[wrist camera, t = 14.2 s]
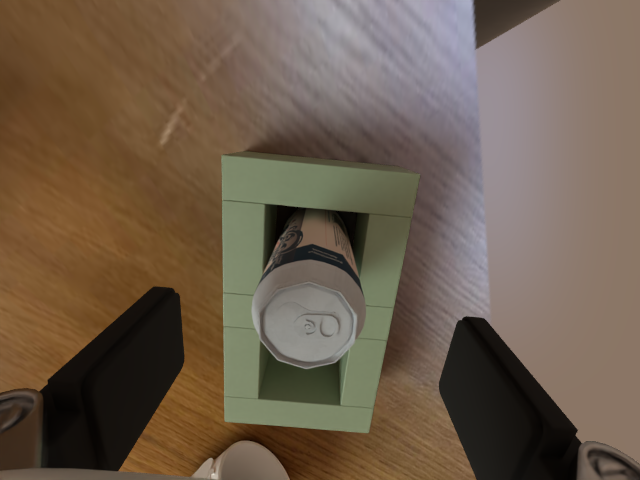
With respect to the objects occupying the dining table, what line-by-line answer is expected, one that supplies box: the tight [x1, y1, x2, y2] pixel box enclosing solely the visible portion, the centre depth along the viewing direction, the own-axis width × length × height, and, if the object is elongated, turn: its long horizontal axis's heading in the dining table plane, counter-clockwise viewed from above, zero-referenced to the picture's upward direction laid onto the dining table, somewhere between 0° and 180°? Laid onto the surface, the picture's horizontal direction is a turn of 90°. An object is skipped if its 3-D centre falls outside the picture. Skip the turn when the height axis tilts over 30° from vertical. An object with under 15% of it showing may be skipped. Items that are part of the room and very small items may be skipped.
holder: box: [222, 151, 420, 433], centre depth 22 cm, size 20×11×5 cm, turn 175°
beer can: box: [251, 207, 366, 369], centre depth 17 cm, size 5×5×12 cm
